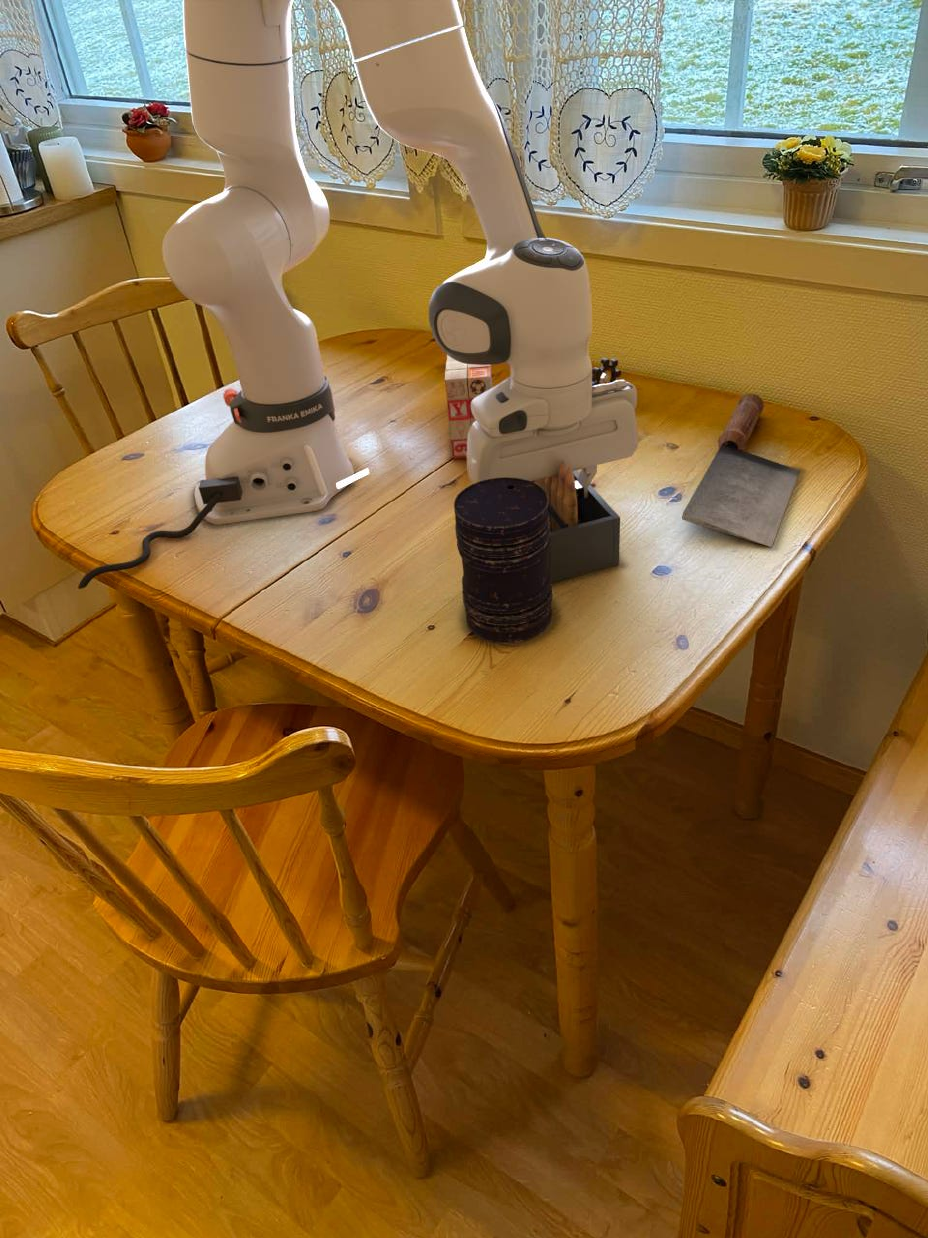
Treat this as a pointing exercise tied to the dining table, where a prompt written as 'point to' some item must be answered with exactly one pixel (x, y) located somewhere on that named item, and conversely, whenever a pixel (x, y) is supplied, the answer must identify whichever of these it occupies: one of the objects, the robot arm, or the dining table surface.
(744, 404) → the meat cleaver
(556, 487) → the ammunition clip
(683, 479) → the dining table surface
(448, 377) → the stack of blocks
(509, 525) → the dark blue cylinder
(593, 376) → the valve
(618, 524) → the bin
